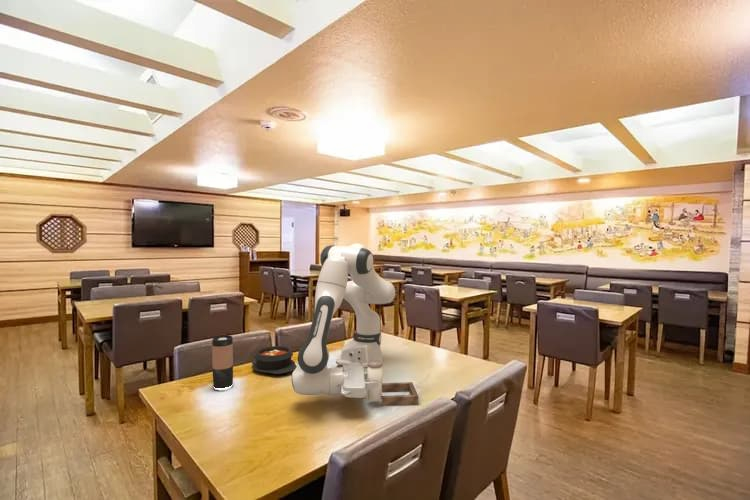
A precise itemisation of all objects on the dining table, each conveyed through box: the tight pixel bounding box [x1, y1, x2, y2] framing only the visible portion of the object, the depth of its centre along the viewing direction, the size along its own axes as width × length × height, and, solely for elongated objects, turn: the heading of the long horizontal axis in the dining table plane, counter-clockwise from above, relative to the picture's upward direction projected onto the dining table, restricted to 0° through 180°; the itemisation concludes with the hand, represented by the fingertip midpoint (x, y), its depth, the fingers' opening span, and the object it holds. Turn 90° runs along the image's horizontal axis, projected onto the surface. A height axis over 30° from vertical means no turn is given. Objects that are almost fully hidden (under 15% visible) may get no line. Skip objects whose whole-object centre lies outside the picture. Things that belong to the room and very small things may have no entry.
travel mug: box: [211, 334, 234, 388], centre depth 147 cm, size 8×8×20 cm
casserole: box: [251, 345, 297, 375], centre depth 168 cm, size 25×19×8 cm
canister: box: [366, 360, 384, 402], centre depth 133 cm, size 5×5×13 cm
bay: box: [381, 381, 420, 407], centre depth 139 cm, size 13×13×3 cm
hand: (377, 380), depth 133 cm, fingers closed on canister, 5 cm apart
